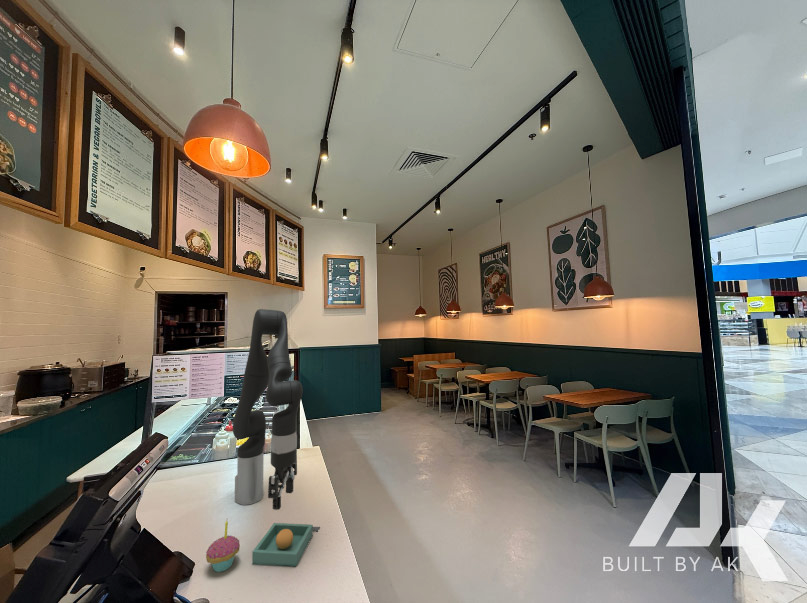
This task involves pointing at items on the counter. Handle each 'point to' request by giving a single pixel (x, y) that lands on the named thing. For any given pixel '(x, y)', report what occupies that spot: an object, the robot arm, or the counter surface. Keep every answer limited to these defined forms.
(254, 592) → the counter surface
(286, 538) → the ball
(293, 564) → the tray
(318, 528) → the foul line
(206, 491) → the counter surface
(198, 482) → the counter surface
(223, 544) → the cupcake
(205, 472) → the counter surface
